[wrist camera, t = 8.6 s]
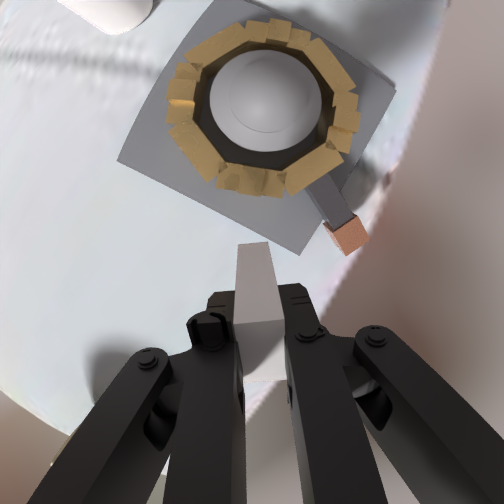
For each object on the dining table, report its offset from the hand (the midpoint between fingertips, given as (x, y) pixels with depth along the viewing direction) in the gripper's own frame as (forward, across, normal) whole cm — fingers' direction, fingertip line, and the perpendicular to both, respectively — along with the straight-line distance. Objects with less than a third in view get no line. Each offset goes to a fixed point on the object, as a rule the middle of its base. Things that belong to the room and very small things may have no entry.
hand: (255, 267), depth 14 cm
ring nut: (+11, +4, +6) cm, 13 cm away
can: (+13, -11, +24) cm, 30 cm away
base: (+13, +2, +9) cm, 16 cm away
